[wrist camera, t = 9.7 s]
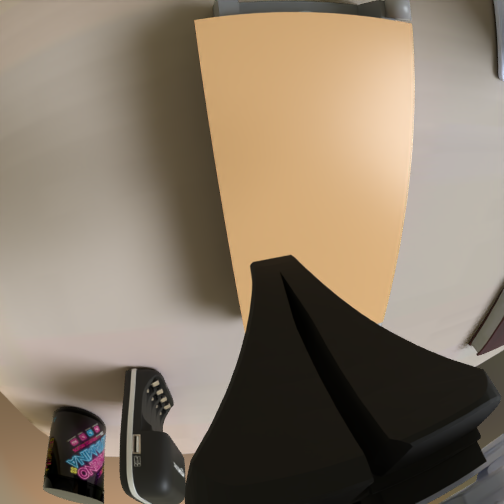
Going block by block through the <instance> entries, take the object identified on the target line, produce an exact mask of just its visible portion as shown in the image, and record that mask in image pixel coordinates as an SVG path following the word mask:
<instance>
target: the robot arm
mask: <svg viewBox="0 0 504 504" xmlns="http://www.w3.org/2000/svg"><path fill="white" fill-rule="evenodd" d="M494 7H495V16H496V27H497V41H498V76H499V78H500V80H502V81H504V0H494ZM250 271H251V278H252V294H251V303H250V311H249V317H248V322H247V327H246V332H245V336H244V340H243V344H242V348H241V351H240V354H239V358H238V361H237V364H236V367H235V370H234V373H233V375H232V378H231V381H230V384H229V386H228V389H227V391H226V393H225V396H224V398H223V400H222V402H221V404H220V407H219V409H218V411H217V413H216V415H215V417H214V419H213V422H212V424H211V425H210V427H209V429H208V431H207V433H206V435H205V436H204V438H203V440H202V442H201V443H200V445H199V447H198V449H197V450H196V452H195V454H194V456H193V457H192V459H191V462H190V466H189V471H188V475H187V481H186V487H185V504H427V503H429V502H431V501H433V500H435V499H436V498H438V497H440V496H442V495H444V494H445V493H447V492H449V491H451V490H452V489H454V488H455V487H457V486H459V485H460V484H462V483H464V482H465V481H467V480H468V479H470V478H471V477H473V476H474V475H476V474H477V473H478V475H477V480H476V482H474V483H473V484H471V485H469V486H467V487H466V488H464V489H462V490H461V491H459V492H457V493H455V494H454V495H452V496H450V497H449V498H447V499H445V500H444V501H442V502H441V503H439V504H504V433H503V434H502V435H501V436H499V437H498V438H497V439H495V440H494V441H492V442H491V443H490V444H488V445H487V446H485V447H484V448H482V449H480V447H479V445H478V443H477V440H479V439H480V437H481V435H480V433H479V431H478V429H477V428H476V427H477V426H479V425H480V424H481V423H482V422H483V421H484V420H485V419H486V418H487V417H488V416H489V415H490V414H491V413H492V411H494V409H495V408H496V407H497V406H498V404H499V403H500V400H501V395H500V394H499V392H498V390H497V389H496V387H495V386H494V384H493V383H492V381H491V379H490V378H489V377H488V375H487V374H486V372H485V371H484V370H483V369H480V368H477V367H473V366H470V365H467V364H464V363H461V362H457V361H454V360H451V359H448V358H446V357H443V356H441V355H438V354H436V353H433V352H431V351H428V350H426V349H424V348H422V347H420V346H417V345H415V344H413V343H411V342H409V341H407V340H405V339H403V338H401V337H400V336H398V335H396V334H394V333H392V332H390V331H388V330H387V329H385V328H383V327H382V326H380V325H378V324H377V323H375V322H374V321H372V320H370V319H369V318H367V317H366V316H364V315H363V314H361V313H360V312H359V311H357V310H356V309H354V308H353V307H352V306H350V305H349V304H348V303H346V302H345V301H344V300H343V299H341V298H340V297H339V296H337V295H336V294H335V293H334V292H333V291H331V290H330V289H329V288H328V287H327V286H325V285H324V284H323V283H322V282H321V281H320V280H319V279H317V278H316V277H315V276H314V275H313V274H312V273H311V272H310V271H309V270H308V269H306V268H305V267H304V266H303V265H302V264H301V263H300V262H299V261H298V260H297V259H296V258H295V257H294V256H292V255H287V256H281V257H276V258H271V259H266V260H260V261H255V262H252V264H251V265H250Z"/></svg>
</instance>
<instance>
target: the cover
mask: <svg viewBox="0 0 504 504" xmlns="http://www.w3.org/2000/svg"><path fill="white" fill-rule="evenodd" d="M194 22H195V30H196V37H197V45H198V52H199V59H200V66H201V73H202V80H203V87H204V94H205V100H206V107H207V114H208V120H209V127H210V133H211V140H212V146H213V152H214V159H215V165H216V171H217V177H218V183H219V189H220V195H221V201H222V207H223V213H224V219H225V225H226V231H227V237H228V242H229V248H230V254H231V259H232V265H233V271H234V276H235V282H236V287H237V293H238V298H239V304H240V309H241V314H242V320H243V325H244V330H245V332H246V327H247V322H248V317H249V311H250V303H251V294H252V278H251V271H250V265H251V264H252V262H255V261H260V260H266V259H271V258H276V257H281V256H287V255H292V256H294V257H295V258H296V259H297V260H298V261H299V262H300V263H301V264H302V265H303V266H304V267H305V268H306V269H308V270H309V271H310V272H311V273H312V274H313V275H314V276H315V277H316V278H317V279H319V280H320V281H321V282H322V283H323V284H324V285H325V286H327V287H328V288H329V289H330V290H331V291H333V292H334V293H335V294H336V295H337V296H339V297H340V298H341V299H343V300H344V301H345V302H346V303H348V304H349V305H350V306H352V307H353V308H354V309H356V310H357V311H359V312H360V313H361V314H363V315H364V316H366V317H367V318H369V319H370V320H372V321H374V322H375V323H377V324H378V323H382V322H383V319H384V315H385V312H386V308H387V304H388V299H389V295H390V291H391V287H392V282H393V278H394V273H395V268H396V263H397V258H398V253H399V248H400V242H401V236H402V230H403V224H404V218H405V211H406V204H407V196H408V188H409V179H410V169H411V158H412V145H413V128H414V96H415V78H414V47H413V31H412V24H410V23H405V22H400V21H394V20H388V19H382V18H375V17H367V16H358V15H348V14H336V13H317V12H271V13H252V14H239V15H229V16H220V17H212V18H205V19H198V20H194Z"/></svg>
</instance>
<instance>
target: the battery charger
mask: <svg viewBox="0 0 504 504" xmlns="http://www.w3.org/2000/svg"><path fill="white" fill-rule="evenodd" d="M172 406H173V398H172V396H171V394H170V391H169V389H168V387H167V385H166V383H165V380H164V378H163V376H162V375H161V373H159V372H158V371H156V370H150V369H132V370H128V371H126V374H125V386H124V398H123V409H122V419H121V433H120V480H121V485H122V488H123V490H124V491H125V493H126V494H127V495H129V496H130V497H132V498H133V499H135V500H136V501H138V502H141V503H143V504H179V503H181V502H182V501H183V500H184V498H185V487H186V482H185V463H184V457H183V456H182V454H181V452H180V451H179V449H178V448H177V446H176V445H175V443H174V442H173V441H172V439H171V438H170V436H169V435H168V434H167V433H164V432H163V423H164V420H165V417H166V415H167V414H168V412H169V410H170V408H171V407H172Z"/></svg>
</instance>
